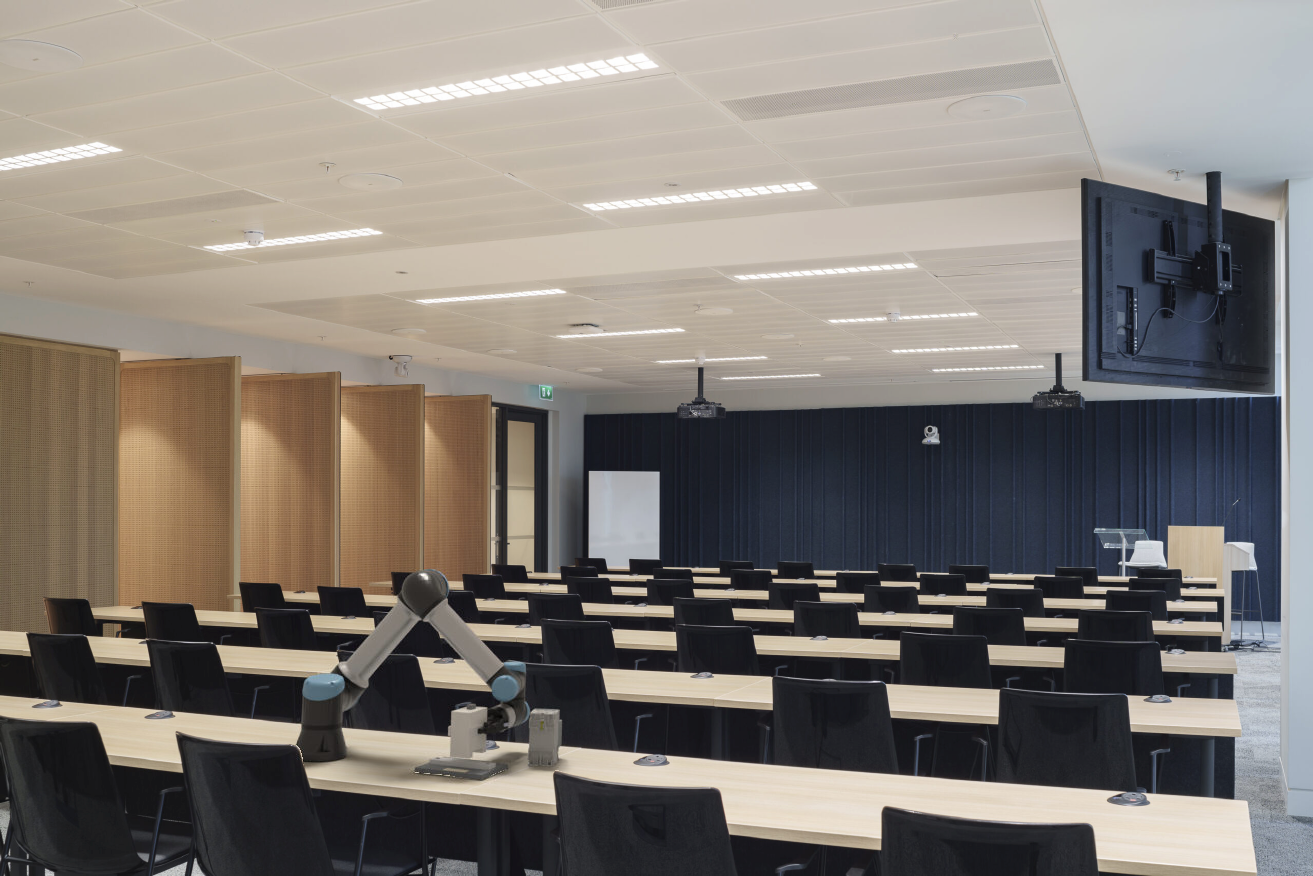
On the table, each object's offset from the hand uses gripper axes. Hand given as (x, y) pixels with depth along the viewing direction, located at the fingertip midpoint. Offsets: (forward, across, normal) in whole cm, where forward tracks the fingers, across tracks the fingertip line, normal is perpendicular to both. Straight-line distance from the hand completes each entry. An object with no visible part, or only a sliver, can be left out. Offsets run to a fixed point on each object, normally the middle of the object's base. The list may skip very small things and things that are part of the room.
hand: (460, 732), depth 306 cm
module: (-5, 0, -7) cm, 9 cm away
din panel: (-5, +2, -12) cm, 13 cm away
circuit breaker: (-28, -14, -12) cm, 33 cm away
